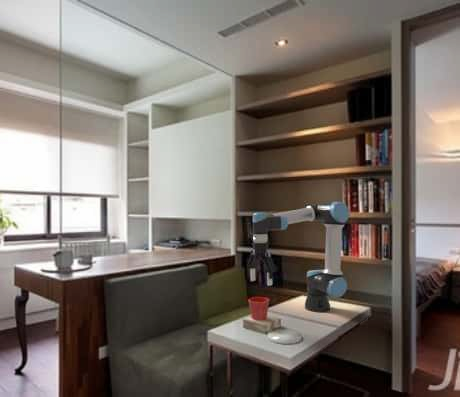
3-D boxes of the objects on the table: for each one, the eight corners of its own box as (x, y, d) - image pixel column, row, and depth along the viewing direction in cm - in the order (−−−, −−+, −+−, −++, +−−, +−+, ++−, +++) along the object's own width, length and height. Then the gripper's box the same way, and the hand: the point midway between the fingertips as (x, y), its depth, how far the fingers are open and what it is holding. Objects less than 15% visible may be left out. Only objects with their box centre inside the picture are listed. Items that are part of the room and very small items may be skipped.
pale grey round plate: (279, 329, 174) (279, 327, 174) (307, 336, 163) (307, 334, 163) (260, 338, 162) (260, 336, 162) (289, 347, 151) (289, 344, 151)
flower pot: (253, 313, 187) (253, 295, 187) (272, 316, 182) (272, 298, 182) (245, 319, 177) (244, 300, 178) (264, 322, 172) (264, 303, 173)
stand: (259, 320, 188) (259, 313, 188) (280, 326, 178) (280, 318, 178) (243, 327, 177) (243, 319, 177) (265, 333, 168) (264, 325, 168)
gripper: (240, 240, 187) (241, 279, 186) (271, 244, 167) (272, 288, 166) (251, 240, 191) (251, 278, 191) (282, 243, 171) (283, 286, 170)
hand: (261, 282), depth 178 cm, fingers open, 13 cm apart
